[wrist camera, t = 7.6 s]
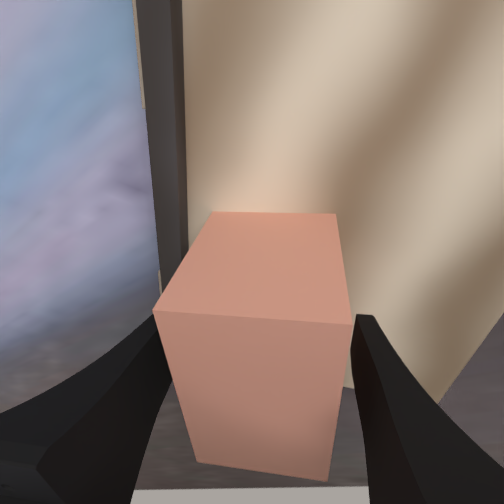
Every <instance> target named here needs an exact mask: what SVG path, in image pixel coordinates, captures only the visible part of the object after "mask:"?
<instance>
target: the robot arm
mask: <svg viewBox="0 0 504 504" xmlns="http://www.w3.org/2000/svg"><path fill="white" fill-rule="evenodd" d="M350 357H351V370H352V378H353V383H354V389H355V394H356V399H357V405H358V410H359V415H360V420H361V425H362V431H363V437H364V444H365V454H366V464H367V475H368V486H369V497H370V504H504V468H503V467H501V466H500V465H499V464H498V463H497V462H496V461H495V460H494V459H492V458H491V457H490V456H489V455H488V454H487V453H486V452H484V451H483V450H482V449H481V448H480V447H479V446H478V445H477V444H476V443H475V442H474V441H473V440H472V439H471V438H470V437H469V436H468V435H467V434H466V433H465V432H464V431H463V430H462V429H460V428H459V427H458V426H457V425H456V424H455V423H454V422H453V421H452V420H451V418H450V417H449V416H448V415H447V414H446V413H445V412H444V411H443V410H442V409H441V408H440V407H439V406H438V404H437V403H436V402H435V401H434V400H433V399H432V398H431V397H430V395H429V394H428V393H427V392H426V391H425V390H424V388H423V387H422V386H421V385H420V383H419V382H418V381H417V380H416V378H415V377H414V376H413V374H412V373H411V372H410V371H409V369H408V368H407V366H406V365H405V364H404V362H403V361H402V359H401V358H400V357H399V355H398V354H397V352H396V351H395V349H394V348H393V346H392V345H391V343H390V342H389V340H388V339H387V337H386V336H385V334H384V332H383V331H382V329H381V327H380V326H379V324H378V322H377V320H376V318H375V317H374V316H373V315H367V314H356V318H355V323H354V329H353V335H352V341H351V347H350ZM172 380H173V379H172V375H171V372H170V369H169V365H168V362H167V358H166V355H165V352H164V348H163V345H162V342H161V338H160V335H159V331H158V328H157V325H156V321H155V318H154V314H152V315H151V316H150V317H149V318H148V319H147V320H146V321H144V322H143V323H142V324H141V325H140V326H139V327H138V328H137V329H135V330H134V331H133V332H132V333H131V334H130V335H128V336H127V337H126V338H125V339H123V340H122V341H121V342H120V343H119V344H117V345H116V346H115V347H114V348H112V349H111V350H110V351H108V352H107V353H106V354H104V355H103V356H102V357H100V358H99V359H97V360H96V361H95V362H93V363H92V364H90V365H89V366H87V367H86V368H84V369H83V370H81V371H80V372H78V373H76V374H75V375H73V376H71V377H70V378H68V379H66V380H65V381H63V382H62V383H60V384H58V385H56V386H55V387H53V388H51V389H49V390H47V391H46V392H44V393H42V394H40V395H38V396H36V397H34V398H32V399H30V400H28V401H26V402H24V403H22V404H20V405H18V406H16V407H14V408H11V409H9V410H7V411H5V412H3V413H0V504H130V502H131V499H132V495H133V491H134V488H135V484H136V481H137V477H138V474H139V470H140V467H141V463H142V460H143V457H144V454H145V450H146V447H147V444H148V441H149V438H150V435H151V432H152V429H153V426H154V423H155V420H156V417H157V414H158V412H159V409H160V407H161V404H162V402H163V400H164V398H165V395H166V393H167V391H168V389H169V386H170V384H171V382H172Z"/></svg>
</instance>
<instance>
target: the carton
mask: <svg viewBox="0 0 504 504" xmlns="http://www.w3.org/2000/svg"><path fill="white" fill-rule="evenodd" d="M152 311H153V314H154V318H155V321H156V325H157V328H158V331H159V335H160V338H161V342H162V345H163V348H164V352H165V355H166V358H167V362H168V365H169V369H170V372H171V375H172V379H173V382H174V386H175V389H176V392H177V396H178V399H179V402H180V406H181V409H182V413H183V416H184V419H185V423H186V426H187V430H188V433H189V436H190V440H191V443H192V446H193V450H194V453H195V457H196V460H197V462H200V463H206V464H213V465H220V466H226V467H233V468H240V469H246V470H253V471H259V472H266V473H273V474H279V475H286V476H293V477H299V478H306V479H312V480H319V481H326V482H327V480H328V474H329V468H330V462H331V456H332V450H333V444H334V438H335V431H336V425H337V419H338V413H339V407H340V401H341V395H342V389H343V382H344V376H345V370H346V364H347V358H348V352H349V346H350V339H351V333H352V327H353V322H352V316H351V309H350V303H349V296H348V290H347V283H346V277H345V270H344V264H343V257H342V251H341V244H340V238H339V231H338V225H337V218H336V214H323V213H271V212H218V211H212V213H211V215H210V216H209V218H208V220H207V221H206V223H205V224H204V226H203V228H202V229H201V231H200V233H199V234H198V236H197V238H196V239H195V241H194V242H193V244H192V246H191V247H190V249H189V251H188V252H187V254H186V256H185V257H184V259H183V261H182V262H181V264H180V265H179V267H178V269H177V270H176V272H175V274H174V275H173V277H172V279H171V280H170V282H169V284H168V285H167V287H166V288H165V290H164V292H163V293H162V295H161V297H160V298H159V300H158V302H157V303H156V305H155V307H154V308H153V310H152Z"/></svg>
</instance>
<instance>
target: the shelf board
mask: <svg viewBox="0 0 504 504" xmlns="http://www.w3.org/2000/svg"><path fill="white" fill-rule="evenodd" d="M132 5H133V15H134V26H135V36H136V47H137V57H138V68H139V78H140V89H141V99H142V109H146V120H147V131H148V143H149V154H150V165H151V176H152V187H153V198H154V209H155V220H156V231H157V242H158V253H159V264H160V270H159V271H158V278H159V288H160V297H161V295H162V293H163V292H164V290H165V288H166V287H167V285H168V284H169V282H170V280H171V279H172V277H173V275H174V274H175V272H176V270H177V269H178V267H179V265H180V264H181V262H182V261H183V259H184V257H185V256H186V254H187V252H188V251H189V249H190V247H191V246H192V244H193V242H194V241H195V239H196V238H197V236H198V234H199V233H200V231H201V229H202V228H203V226H204V224H205V223H206V221H207V220H208V218H209V216H210V215H211V213H212V211H218V212H271V213H323V214H336V218H337V225H338V231H339V238H340V244H341V251H342V257H343V264H344V270H345V277H346V283H347V290H348V296H349V303H350V309H351V316H352V322H353V327H352V333H351V339H350V346H349V352H348V358H347V364H346V370H345V376H344V382H343V387H348V388H353V389H354V383H353V378H352V370H351V357H350V347H351V341H352V335H353V329H354V323H355V318H356V314H367V315H373V316H374V317H375V318H376V320H377V322H378V324H379V326H380V327H381V329H382V331H383V332H384V334H385V336H386V337H387V339H388V340H389V342H390V343H391V345H392V346H393V348H394V349H395V351H396V352H397V354H398V355H399V357H400V358H401V359H402V361H403V362H404V364H405V365H406V366H407V368H408V369H409V371H410V372H411V373H412V374H413V376H414V377H415V378H416V380H417V381H418V382H419V383H420V385H421V386H422V387H423V388H424V390H425V391H426V392H427V393H428V394H429V395H430V397H431V398H432V399H433V400H434V401H435V402H436V403H437V404H438V402H439V401H440V400H441V398H442V397H443V396H444V394H445V393H446V391H447V390H448V389H449V387H450V386H451V385H452V383H453V382H454V380H455V379H456V378H457V376H458V375H459V374H460V372H461V371H462V369H463V368H464V367H465V365H466V364H467V363H468V361H469V360H470V358H471V357H472V356H473V354H474V353H475V351H476V350H477V349H478V347H479V346H480V345H481V343H482V342H483V340H484V339H485V338H486V336H487V335H488V334H489V332H490V331H491V329H492V328H493V327H494V325H495V324H496V323H497V321H498V320H499V318H500V317H501V316H502V314H503V313H504V0H132Z"/></svg>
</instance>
